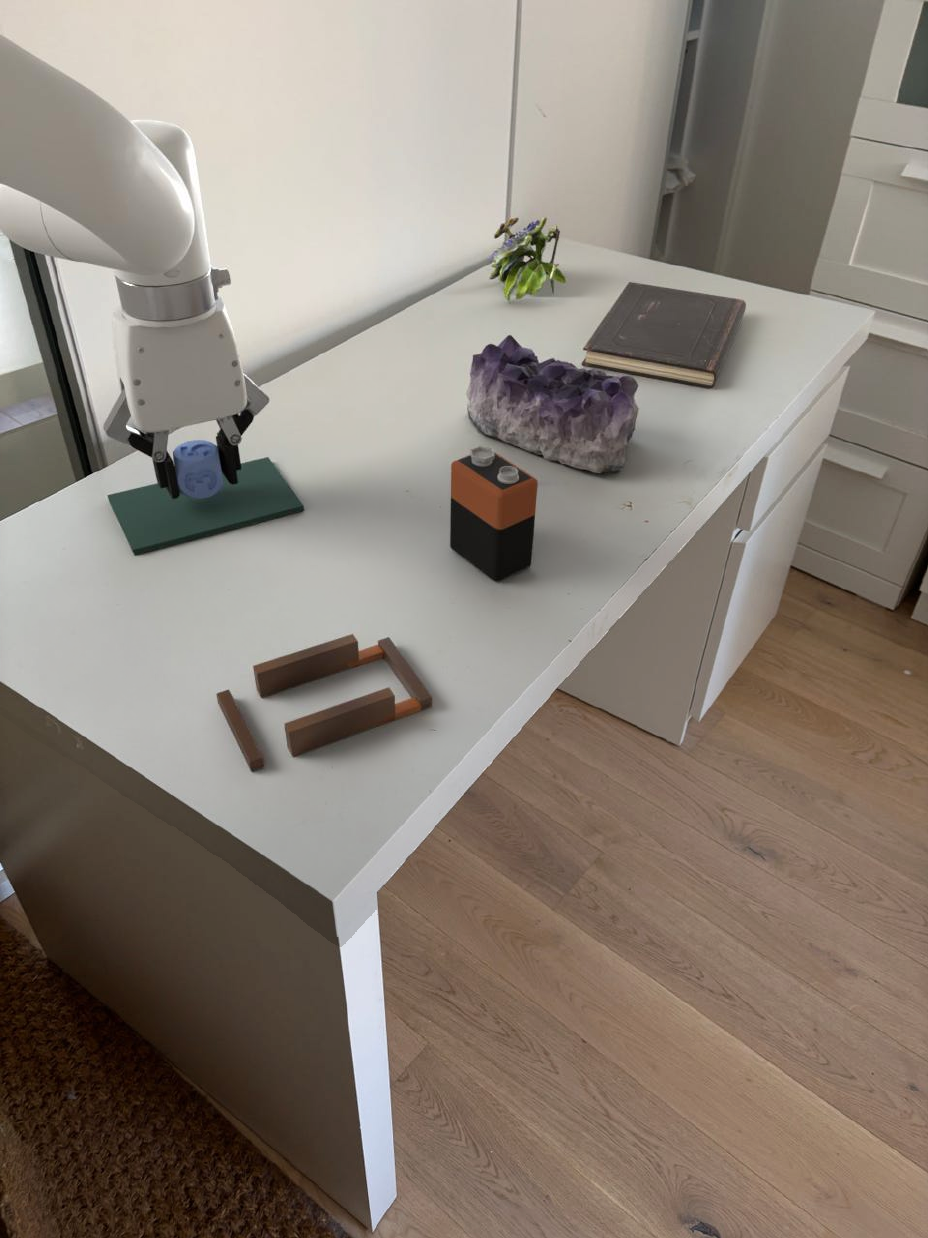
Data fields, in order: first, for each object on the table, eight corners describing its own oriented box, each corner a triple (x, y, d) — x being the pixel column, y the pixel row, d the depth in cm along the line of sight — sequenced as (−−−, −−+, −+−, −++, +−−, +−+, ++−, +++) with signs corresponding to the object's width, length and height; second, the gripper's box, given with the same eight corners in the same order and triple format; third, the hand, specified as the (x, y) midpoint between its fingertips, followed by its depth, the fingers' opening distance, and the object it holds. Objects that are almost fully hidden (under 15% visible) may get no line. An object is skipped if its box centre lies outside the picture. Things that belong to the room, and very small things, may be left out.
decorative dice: (179, 479, 91) (171, 442, 89) (222, 474, 92) (216, 437, 90) (181, 502, 88) (173, 464, 86) (225, 496, 89) (219, 458, 87)
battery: (484, 532, 89) (488, 436, 83) (533, 567, 85) (541, 469, 79) (447, 548, 87) (448, 451, 81) (495, 585, 83) (501, 486, 77)
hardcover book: (581, 365, 117) (583, 347, 115) (627, 298, 133) (629, 281, 132) (713, 389, 113) (717, 371, 111) (743, 317, 129) (747, 300, 128)
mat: (134, 555, 85) (132, 549, 85) (108, 500, 92) (107, 494, 92) (304, 510, 91) (303, 505, 91) (268, 461, 98) (268, 456, 98)
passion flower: (502, 319, 140) (508, 234, 140) (575, 317, 136) (581, 230, 136) (474, 297, 130) (480, 206, 129) (552, 294, 126) (559, 200, 125)
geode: (435, 438, 103) (439, 344, 97) (489, 408, 111) (495, 320, 106) (610, 487, 94) (625, 387, 89) (654, 451, 103) (670, 358, 98)
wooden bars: (251, 772, 67) (246, 747, 65) (217, 702, 72) (212, 678, 70) (432, 706, 72) (432, 682, 70) (389, 646, 77) (388, 622, 75)
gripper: (252, 261, 84) (274, 446, 96) (49, 293, 78) (99, 486, 89) (282, 291, 79) (301, 482, 91) (68, 327, 73) (118, 527, 84)
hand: (200, 482), depth 90 cm, fingers closed on decorative dice, 4 cm apart
